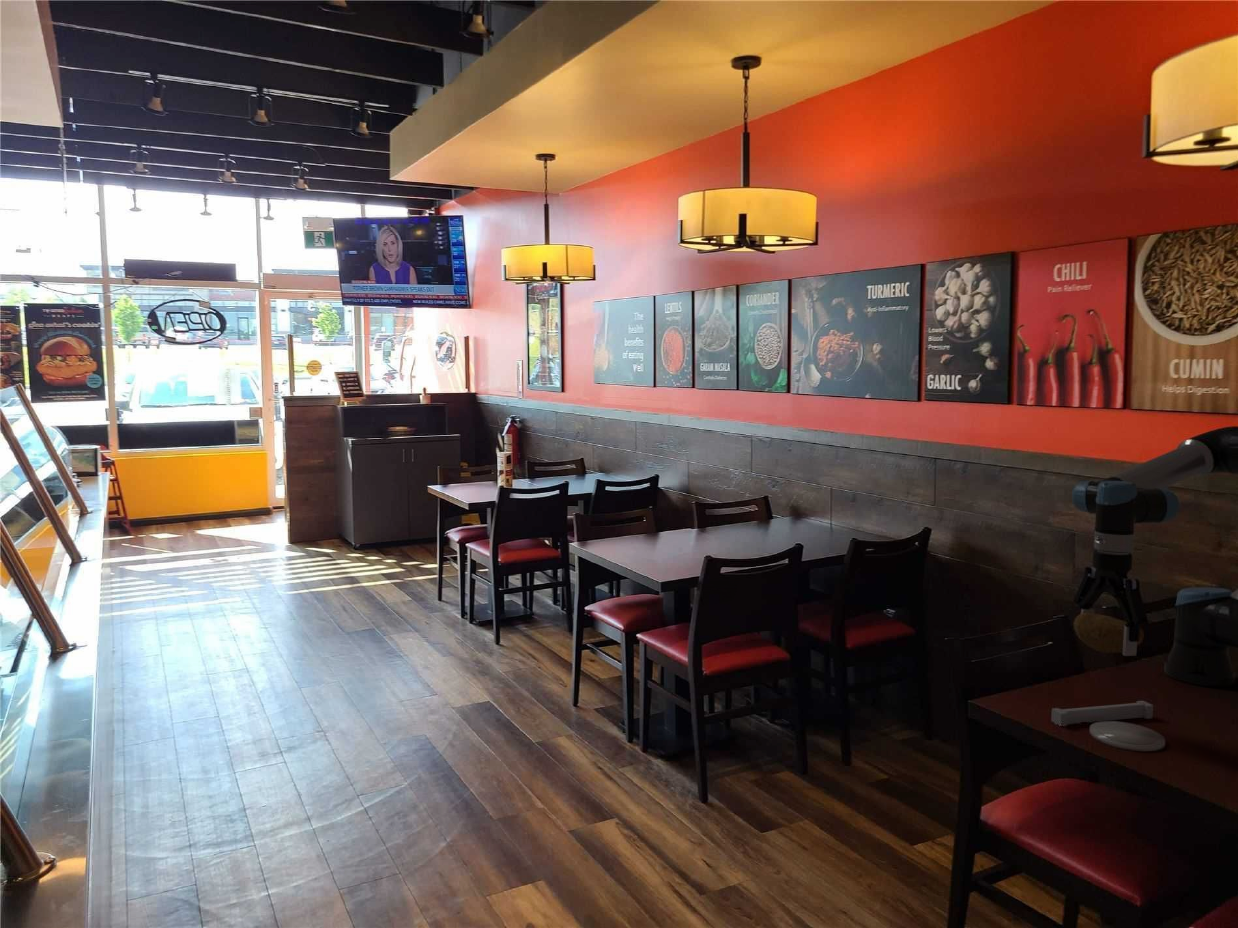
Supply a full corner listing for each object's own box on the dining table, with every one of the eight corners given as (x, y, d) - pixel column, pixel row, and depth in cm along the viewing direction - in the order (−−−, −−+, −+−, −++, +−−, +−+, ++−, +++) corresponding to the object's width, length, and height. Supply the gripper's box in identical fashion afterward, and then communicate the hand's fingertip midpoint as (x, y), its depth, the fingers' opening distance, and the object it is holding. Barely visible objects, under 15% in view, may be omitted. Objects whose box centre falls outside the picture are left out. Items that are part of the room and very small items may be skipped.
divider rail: (1142, 713, 200) (1142, 700, 200) (1152, 718, 197) (1153, 705, 197) (1051, 721, 195) (1051, 708, 195) (1060, 726, 193) (1061, 713, 192)
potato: (1133, 663, 185) (1135, 627, 185) (1064, 648, 196) (1066, 613, 195) (1150, 654, 192) (1152, 619, 191) (1083, 640, 202) (1085, 606, 202)
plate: (1129, 722, 195) (1130, 717, 195) (1181, 748, 181) (1181, 743, 181) (1074, 727, 192) (1075, 722, 192) (1123, 754, 178) (1123, 749, 178)
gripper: (1060, 541, 203) (1055, 630, 205) (1139, 563, 179) (1133, 664, 181) (1089, 540, 205) (1083, 629, 207) (1172, 562, 180) (1165, 662, 182)
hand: (1106, 645), depth 194 cm, fingers closed on potato, 13 cm apart
